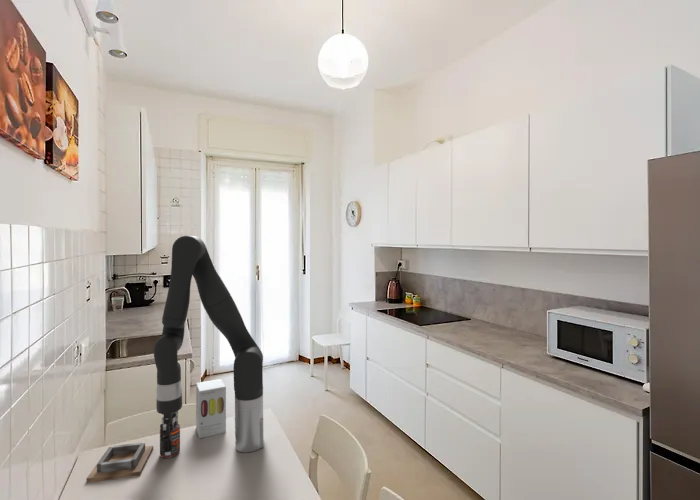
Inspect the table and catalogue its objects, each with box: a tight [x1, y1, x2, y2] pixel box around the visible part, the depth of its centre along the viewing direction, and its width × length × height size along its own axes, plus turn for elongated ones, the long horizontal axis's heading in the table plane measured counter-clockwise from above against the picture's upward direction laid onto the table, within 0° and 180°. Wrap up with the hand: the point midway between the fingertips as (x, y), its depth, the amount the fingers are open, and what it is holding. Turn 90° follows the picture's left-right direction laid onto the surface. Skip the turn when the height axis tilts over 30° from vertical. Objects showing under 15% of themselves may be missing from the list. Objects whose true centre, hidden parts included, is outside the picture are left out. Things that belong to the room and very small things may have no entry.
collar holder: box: [86, 442, 154, 484], centre depth 115 cm, size 14×14×4 cm
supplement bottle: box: [159, 418, 181, 459], centre depth 121 cm, size 6×6×11 cm
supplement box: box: [195, 378, 227, 439], centre depth 136 cm, size 10×9×17 cm
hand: (170, 445), depth 121 cm, fingers closed on supplement bottle, 6 cm apart
